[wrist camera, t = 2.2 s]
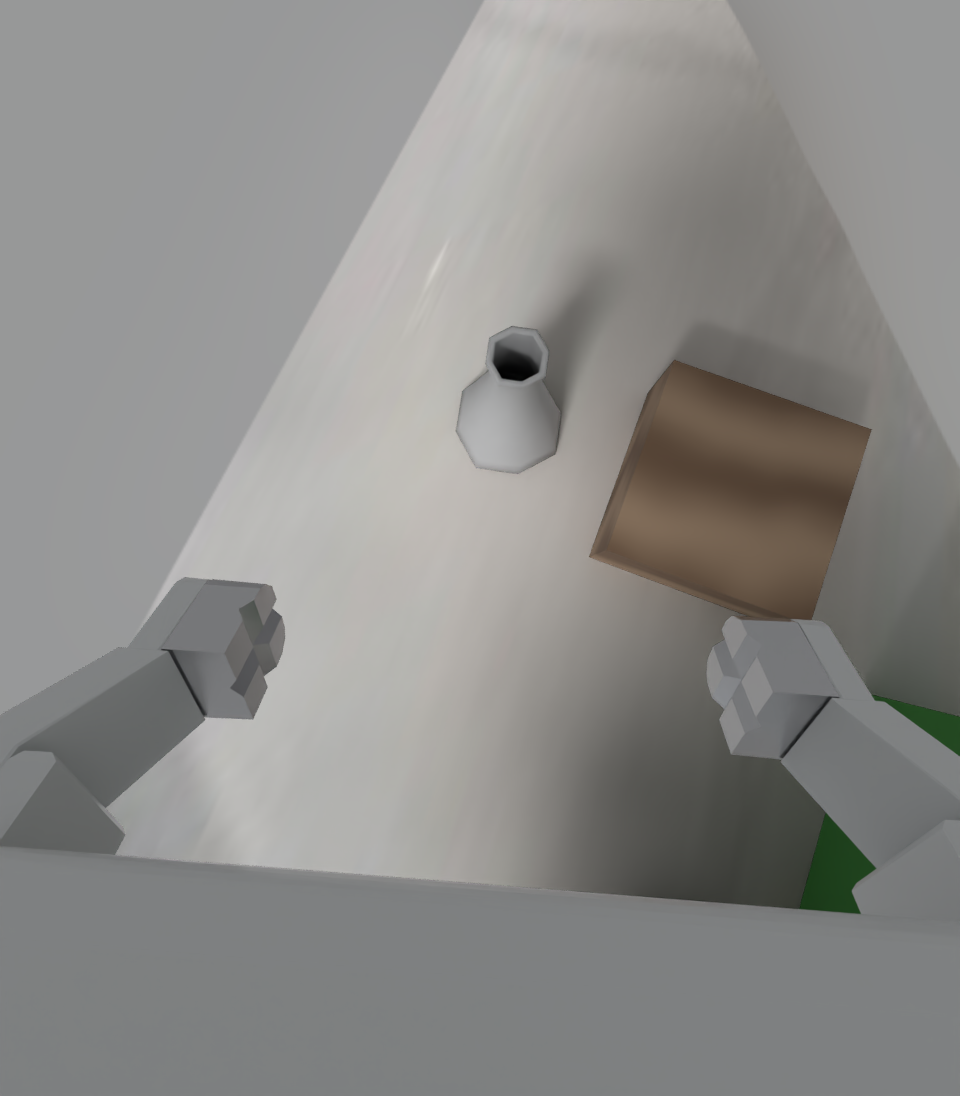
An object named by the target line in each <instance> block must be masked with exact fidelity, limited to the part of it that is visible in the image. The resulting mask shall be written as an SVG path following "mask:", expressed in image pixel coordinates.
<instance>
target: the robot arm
mask: <svg viewBox="0 0 960 1096" xmlns="http://www.w3.org/2000/svg"><path fill="white" fill-rule="evenodd" d="M276 600H277V599H276V596H275V593H274V591H273V588H272V586H270V585H267V584H258V583H247V582H236V581H225V580H214V579H212V580H209V579H198V578H187V577H185V578H183V579H181V580H179V581H177V582H176V583H175V584H174V586H173V587H172V588H171V590H170V591H169V592H168V594H167V595H166V596H165V598H164V599H163V600H162V602H161V603H160V604H159V606H158V607H157V608H156V610H155V611H154V612H153V614H152V615H151V616H150V618H149V619H148V620H147V622H146V623H145V624H144V626H143V627H142V629H141V630H140V631H139V633H138V634H137V635H136V637H135V638H134V639H133V641H132V642H131V643H130V645H129V646H128V647H127V648H122V647H118V648H116V649H115V650H113V651H111V652H109V653H108V654H106V655H104V656H102V657H101V658H99V659H97V660H96V661H94V662H92V663H90V664H88V665H87V666H85V667H83V668H82V669H80V670H78V671H76V672H74V673H73V674H71V675H70V676H67V677H66V678H64V679H62V680H60V681H59V682H57V683H55V684H53V685H52V686H50V687H48V688H46V689H45V690H43V691H41V692H40V693H38V694H36V695H34V696H33V697H31V698H29V699H28V700H26V701H24V702H22V703H20V704H19V705H17V706H15V707H13V708H12V709H10V710H8V711H6V712H5V713H3V714H1V715H0V1096H960V756H958V755H957V754H956V753H954V752H953V751H952V750H950V749H949V748H947V747H946V746H945V745H943V744H942V743H941V742H939V741H938V740H936V739H935V738H934V737H932V736H931V735H930V734H928V733H927V732H925V731H924V730H923V729H921V728H920V727H919V726H917V725H916V724H915V723H913V722H912V721H910V720H909V719H908V718H906V717H905V716H904V715H902V714H901V713H899V712H898V711H897V710H895V709H894V708H893V707H891V706H890V705H888V704H887V703H886V702H882V701H875V700H874V698H873V697H872V695H871V693H870V692H869V690H868V688H867V687H866V685H865V684H864V682H863V680H862V679H861V677H860V676H859V674H858V672H857V671H856V669H855V667H854V666H853V664H852V663H851V661H850V659H849V658H848V656H847V654H846V653H845V651H844V650H843V648H842V646H841V645H840V643H839V642H838V640H837V638H836V637H835V635H834V633H833V632H832V630H831V629H830V627H829V626H828V625H827V624H825V623H824V622H823V621H817V620H800V619H790V620H789V619H783V618H766V617H749V616H731V617H730V618H729V619H727V620H726V622H725V624H724V626H723V628H722V630H721V631H722V633H723V636H724V638H725V640H723V641H721V642H720V643H718V644H716V645H715V646H713V648H712V650H711V652H710V654H709V657H708V659H707V670H706V676H707V683H708V687H709V690H710V694H711V697H712V698H713V699H714V700H715V701H716V702H717V703H718V704H719V705H720V706H721V707H722V708H724V710H723V713H722V715H721V717H720V719H719V721H720V724H721V727H722V730H723V733H724V736H725V739H726V742H727V744H728V747H729V750H730V753H731V755H741V756H751V757H761V758H771V759H781V763H782V764H783V765H784V766H785V768H786V769H787V770H788V771H789V772H790V773H791V774H792V775H793V776H794V778H795V779H796V780H797V781H798V782H799V783H800V784H801V785H802V786H803V787H804V789H805V790H806V791H807V792H808V793H809V794H810V795H811V796H812V797H813V799H814V800H815V801H816V802H817V803H818V804H819V805H820V806H821V807H822V809H823V810H824V811H825V812H826V813H827V814H828V815H829V816H830V817H831V819H832V820H833V821H834V822H835V823H836V824H837V825H838V826H839V827H840V829H841V830H842V831H843V832H844V833H845V834H846V835H847V836H848V837H849V839H850V840H851V841H852V842H853V843H854V844H855V845H856V846H857V847H858V849H859V850H860V851H861V852H862V853H863V854H864V855H865V856H866V857H867V858H868V860H869V861H870V862H871V863H872V864H873V865H874V866H875V867H876V868H877V869H875V870H874V871H873V872H871V873H870V874H868V875H867V876H866V877H864V878H863V879H861V880H860V881H859V882H857V883H856V885H855V886H854V888H853V890H852V893H853V896H854V898H855V900H856V903H857V905H858V908H859V910H860V912H861V914H855V913H842V912H830V911H817V910H804V909H792V908H779V907H767V906H754V905H741V904H729V903H716V902H704V901H691V900H678V899H666V898H653V897H641V896H628V895H615V894H603V893H590V892H578V891H565V890H552V889H540V888H527V887H515V886H502V885H489V884H477V883H464V882H452V881H439V880H426V879H414V878H401V877H389V876H376V875H363V874H351V873H338V872H325V871H313V870H300V869H287V868H275V867H262V866H249V865H237V864H224V863H211V862H199V861H186V860H173V859H161V858H148V857H135V856H122V855H115V853H116V852H117V850H118V848H119V846H120V844H121V842H122V840H123V838H124V837H125V832H124V828H123V826H122V825H121V824H120V823H119V822H118V821H117V820H116V819H115V817H114V816H113V815H112V814H111V813H110V812H109V811H108V810H107V809H106V807H107V806H108V805H110V804H111V803H112V802H113V801H114V800H115V799H116V798H117V797H119V796H120V795H121V794H122V793H123V792H124V791H125V790H127V789H128V788H129V787H130V786H131V785H132V784H133V783H134V782H136V781H137V780H138V779H139V778H140V777H141V776H142V775H143V774H145V773H146V772H147V771H148V770H149V769H150V768H151V767H153V766H154V765H155V764H156V763H157V762H158V761H159V760H160V759H162V758H163V757H164V756H165V755H166V754H167V753H168V752H169V751H171V750H172V749H173V748H174V747H175V746H176V745H177V744H179V743H180V742H181V741H182V740H183V739H184V738H185V737H186V736H188V735H189V734H190V733H191V732H192V731H193V730H194V729H195V728H197V727H198V726H199V725H200V724H201V723H202V722H203V721H205V718H204V717H211V718H233V719H254V716H255V714H256V712H257V710H258V708H259V705H260V703H261V701H262V699H263V696H264V694H265V692H266V690H267V684H266V681H265V678H264V676H265V675H266V674H267V673H269V672H270V671H271V670H273V669H274V668H275V667H277V665H278V662H279V660H280V657H281V655H282V652H283V646H284V641H285V627H284V623H283V619H282V616H281V615H279V614H278V613H277V612H276V611H275V610H273V609H272V608H273V606H274V604H275V602H276Z"/></svg>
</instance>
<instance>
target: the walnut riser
mask: <svg viewBox="0 0 960 1096" xmlns="http://www.w3.org/2000/svg"><path fill="white" fill-rule="evenodd" d="M870 433H871V429H869V428H866V427H863V426H860V425H857V424H854V423H852V422H849V421H846V420H843V419H840V418H837V417H835V416H832V415H829V414H826V413H823V412H820V411H818V410H815V409H812V408H809V407H806V406H803V405H801V404H798V403H795V402H792V401H789V400H786V399H783V398H781V397H778V396H775V395H772V394H769V393H766V392H764V391H761V390H758V389H755V388H752V387H749V386H747V385H744V384H741V383H738V382H735V381H732V380H730V379H727V378H724V377H721V376H718V375H715V374H713V373H710V372H707V371H704V370H701V369H698V368H695V367H693V366H690V365H687V364H684V363H681V362H678V361H676V360H674V361H673V362H672V364H671V365H670V366H669V367H668V369H667V370H666V371H665V372H664V374H663V375H662V376H661V377H660V379H659V380H658V381H657V382H656V384H655V385H654V386H653V387H652V389H651V390H650V391H649V392H648V394H647V397H646V400H645V402H644V405H643V408H642V411H641V414H640V416H639V419H638V422H637V425H636V428H635V430H634V433H633V436H632V439H631V441H630V444H629V447H628V450H627V453H626V455H625V458H624V461H623V464H622V467H621V469H620V472H619V475H618V478H617V480H616V483H615V486H614V489H613V492H612V494H611V497H610V500H609V503H608V506H607V508H606V511H605V514H604V517H603V519H602V522H601V525H600V528H599V531H598V533H597V536H596V539H595V542H594V545H593V547H592V550H591V553H590V556H589V557H591V558H593V559H596V560H599V561H601V562H604V563H607V564H610V565H612V566H615V567H618V568H620V569H623V570H626V571H628V572H631V573H634V574H636V575H639V576H642V577H645V578H647V579H650V580H653V581H655V582H658V583H661V584H663V585H666V586H669V587H671V588H674V589H677V590H679V591H682V592H685V593H688V594H690V595H693V596H696V597H698V598H701V599H704V600H706V601H709V602H712V603H714V604H717V605H720V606H723V607H725V608H728V609H731V610H733V611H736V612H739V613H741V614H744V615H747V616H749V617H766V618H783V619H789V620H790V619H800V620H811V619H812V616H813V613H814V610H815V607H816V603H817V600H818V597H819V594H820V591H821V588H822V584H823V581H824V578H825V575H826V572H827V569H828V565H829V562H830V559H831V556H832V553H833V550H834V547H835V543H836V540H837V537H838V534H839V531H840V528H841V524H842V521H843V518H844V515H845V512H846V509H847V506H848V502H849V499H850V496H851V493H852V490H853V487H854V483H855V480H856V477H857V474H858V471H859V468H860V464H861V461H862V458H863V455H864V452H865V449H866V446H867V442H868V439H869V436H870Z"/></svg>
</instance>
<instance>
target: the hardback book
mask: <svg viewBox="0 0 960 1096" xmlns="http://www.w3.org/2000/svg"><path fill="white" fill-rule="evenodd" d="M872 697H873V698H874V700H875V701H882V702H886V703H887V704H888V705H890V706H891V707H893V708H894V709H895V710H897V711H898V712H899V713H901V714H902V715H904V716H905V717H906V718H908V719H909V720H910V721H912V722H913V723H915V724H916V725H917V726H919V727H920V728H921V729H923V730H924V731H925V732H927V733H928V734H930V735H931V736H932V737H934V738H935V739H936V740H938V741H939V742H941V743H942V744H943V745H945V746H946V747H947V748H949V749H950V750H952V751H953V752H954V753H956V754H957V755H958V756H960V717H958V716H955V715H951V714H947V713H943V712H939V711H935V710H931V709H927V708H923V707H919V706H915V705H911V704H907V703H903V702H899V701H895V700H891V699H887V698H883V697H879V696H875V695H872ZM875 869H877V868H876V867H875V866H874V865H873V864H872V863H871V862H870V861H869V860H868V858H867V857H866V856H865V855H864V854H863V853H862V852H861V851H860V850H859V849H858V847H857V846H856V845H855V844H854V843H853V842H852V841H851V840H850V839H849V837H848V836H847V835H846V834H845V833H844V832H843V831H842V830H841V829H840V827H839V826H838V825H837V824H836V823H835V822H834V821H833V820H832V819H831V817H830V816H829V815H828V814H827V813H825V817H824V820H823V824H822V828H821V831H820V835H819V839H818V842H817V846H816V849H815V853H814V857H813V860H812V864H811V868H810V871H809V875H808V879H807V882H806V886H805V889H804V893H803V897H802V900H801V904H800V908H799V909H804V910H817V911H830V912H842V913H855V914H861V912H860V910H859V908H858V905H857V903H856V900H855V898H854V896H853V893H852V890H853V888H854V886H855V885H856V883H857V882H859V881H860V880H861V879H863V878H864V877H866V876H867V875H868V874H870V873H871V872H873V871H874V870H875Z"/></svg>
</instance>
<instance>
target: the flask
mask: <svg viewBox="0 0 960 1096" xmlns="http://www.w3.org/2000/svg"><path fill="white" fill-rule="evenodd" d="M548 357H549V350H548V348H547V346H546V344H545V343H544V341H543V339H542V337H541V336H540V334H539V332H538V330H536V329H529V328H522V327H515V326H511V327H509V328H507V329H505V330H503V331H501V332H499V333H497V334H495V335H493V336H492V337H490V338H489V343H488V350H487V356H486V362H485V364H486V366H487V368H488V371H487V372H486V373H485V374H484V375H483V376H482V377H480V378H479V379H478V380H477V381H476V382H474V383H473V384H471V385H470V386H468V387H467V388H465V389H464V390H463V391H462V397H461V403H460V409H459V415H458V421H457V428H456V432H457V434H458V436H459V438H460V440H461V442H462V443H463V445H464V447H465V449H466V451H467V453H468V454H469V456H470V458H471V460H472V462H473V464H474V465H475V467H476V468H480V469H487V470H494V471H501V472H507V473H514V474H519V473H521V472H523V471H525V470H526V469H528V468H530V467H532V466H534V465H536V464H538V463H540V462H542V461H543V460H545V459H547V458H549V457H551V456H553V455H555V452H556V445H557V438H558V431H559V424H560V417H561V413H560V411H559V409H558V407H557V406H556V404H555V402H554V400H553V398H552V397H551V395H550V393H549V391H548V390H547V388H546V386H545V384H544V383H543V381H542V380H543V379H544V378H545V377H546V371H547V364H548Z"/></svg>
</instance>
